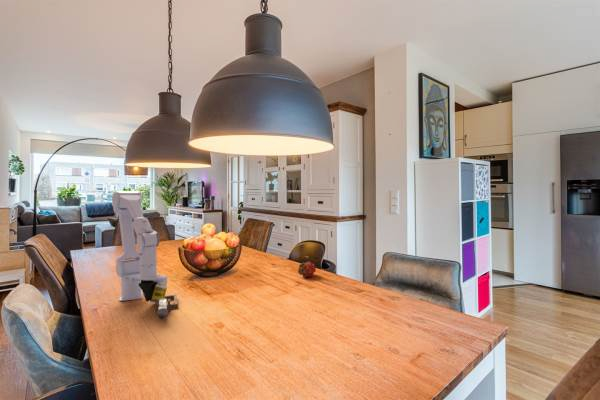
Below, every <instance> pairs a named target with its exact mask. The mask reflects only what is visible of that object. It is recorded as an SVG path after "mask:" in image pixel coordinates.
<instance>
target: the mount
mask: <svg viewBox="0 0 600 400" xmlns="http://www.w3.org/2000/svg"><path fill="white" fill-rule="evenodd" d="M164 298H166V301H167V310H168V313H170V312H171V310H174V309H178V308H179V305H178V304H179V303H178V295H177V294H170V295H165V297H164ZM172 300H173V303H171V301H172ZM154 304H155V309H154V310H155V314H156V315H157V313H158V311H159V304H158V301H156V302H155V303H154Z"/></svg>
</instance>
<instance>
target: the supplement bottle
mask: <svg viewBox="0 0 600 400" xmlns="http://www.w3.org/2000/svg"><path fill="white" fill-rule="evenodd" d="M168 281H169V280H167V282H164V283H162V282H158V283H157V285H156V287H155V289H154V291H153V295H152V299H151V300H150V301H149V302H150V303H152V304H155V302H156V301H158V305H159V299H164V297H165V296H166V294H167V289H168V287H167V286H168Z"/></svg>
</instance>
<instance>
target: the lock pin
mask: <svg viewBox="0 0 600 400" xmlns="http://www.w3.org/2000/svg"><path fill="white" fill-rule="evenodd" d="M167 304H168V300H166V298H164V299H159V304H158V306H159V311H158V313H157V314H156V315H157V318H159V319H161V320H162V319H166V318H167V317H168V315H169V312H168V310H167Z"/></svg>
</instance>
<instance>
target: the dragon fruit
mask: <svg viewBox="0 0 600 400" xmlns="http://www.w3.org/2000/svg"><path fill="white" fill-rule="evenodd" d="M298 266H299V267H298V271H297V272H298V273H299V275H301V276H302V277H303V278H305V277H307V278H308V277H309V278H313V277H314V274H315V272H316V271H317V269H316V266H315V263H312V262H311V261H305V262H302V263H300V264H298Z"/></svg>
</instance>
